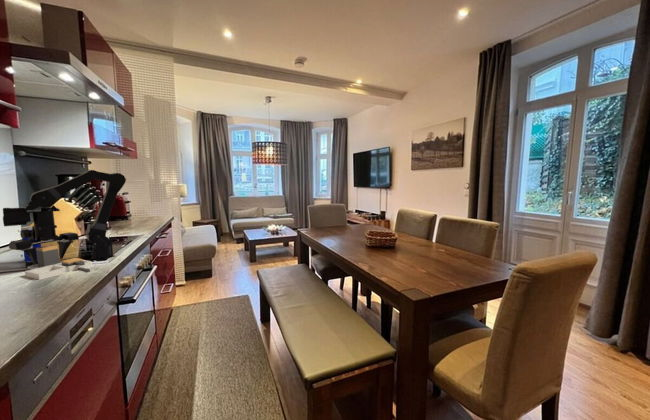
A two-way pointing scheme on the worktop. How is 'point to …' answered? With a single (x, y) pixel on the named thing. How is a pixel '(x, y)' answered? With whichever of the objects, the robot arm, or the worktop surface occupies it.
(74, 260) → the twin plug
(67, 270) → the two-cubby shelf
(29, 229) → the beverage can
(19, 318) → the worktop surface
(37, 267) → the tray
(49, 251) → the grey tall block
